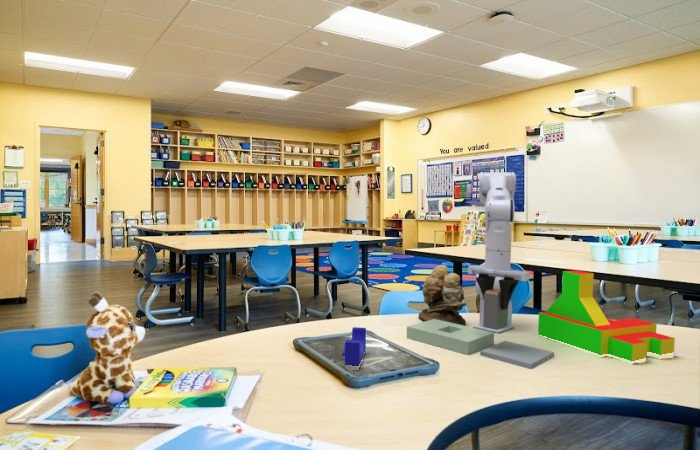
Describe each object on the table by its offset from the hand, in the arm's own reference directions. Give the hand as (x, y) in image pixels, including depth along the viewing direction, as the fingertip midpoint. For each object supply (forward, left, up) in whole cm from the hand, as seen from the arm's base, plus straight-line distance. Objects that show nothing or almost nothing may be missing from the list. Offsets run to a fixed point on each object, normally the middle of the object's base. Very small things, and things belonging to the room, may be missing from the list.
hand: (496, 307), depth 111 cm
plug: (0, 0, -4) cm, 5 cm away
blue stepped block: (+30, -18, -11) cm, 37 cm away
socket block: (+1, -12, -10) cm, 16 cm away
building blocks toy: (-25, +16, -11) cm, 32 cm away
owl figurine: (-15, -25, -11) cm, 31 cm away
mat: (-1, +5, -10) cm, 12 cm away
